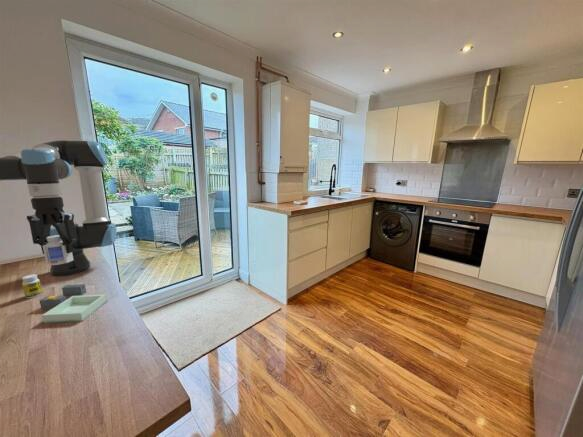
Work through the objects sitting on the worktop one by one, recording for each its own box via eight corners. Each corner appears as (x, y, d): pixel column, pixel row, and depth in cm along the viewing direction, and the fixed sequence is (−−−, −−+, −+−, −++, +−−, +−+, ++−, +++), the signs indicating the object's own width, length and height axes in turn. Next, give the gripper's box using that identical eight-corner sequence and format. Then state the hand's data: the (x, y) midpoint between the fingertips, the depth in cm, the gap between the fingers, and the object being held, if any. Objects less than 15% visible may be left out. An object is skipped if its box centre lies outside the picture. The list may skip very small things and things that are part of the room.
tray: (73, 303, 90) (72, 296, 90) (107, 301, 91) (106, 294, 91) (43, 323, 78) (41, 315, 78) (82, 321, 79) (80, 313, 79)
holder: (68, 292, 98) (66, 283, 97) (86, 291, 99) (84, 283, 98) (41, 309, 87) (38, 299, 86) (61, 307, 87) (59, 298, 86)
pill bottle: (74, 260, 86) (69, 234, 84) (55, 266, 81) (49, 238, 79) (65, 259, 88) (59, 233, 86) (46, 264, 83) (40, 237, 81)
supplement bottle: (31, 299, 94) (26, 279, 92) (22, 298, 95) (17, 278, 93) (45, 293, 98) (41, 274, 97) (37, 292, 99) (32, 273, 98)
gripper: (5, 198, 76) (21, 267, 80) (65, 197, 77) (78, 264, 81) (29, 196, 83) (43, 259, 87) (83, 195, 84) (95, 257, 88)
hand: (60, 261), depth 84 cm, fingers closed on pill bottle, 5 cm apart
